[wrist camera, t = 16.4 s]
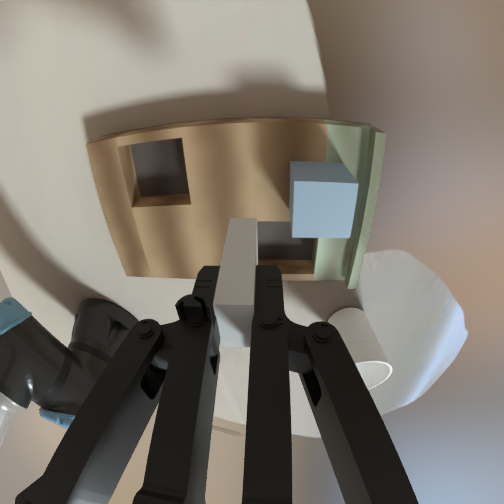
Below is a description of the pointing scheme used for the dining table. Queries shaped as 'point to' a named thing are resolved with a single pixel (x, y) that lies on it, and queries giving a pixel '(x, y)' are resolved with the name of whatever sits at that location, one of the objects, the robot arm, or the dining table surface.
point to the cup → (362, 345)
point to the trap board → (230, 193)
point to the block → (321, 199)
